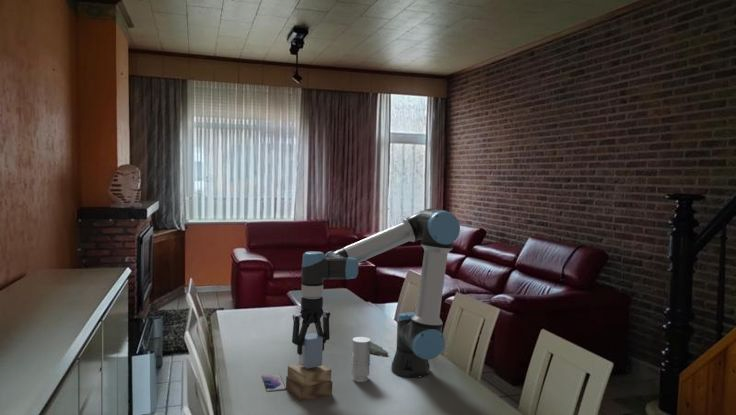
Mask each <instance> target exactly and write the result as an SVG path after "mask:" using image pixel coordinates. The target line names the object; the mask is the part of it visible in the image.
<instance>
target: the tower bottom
mask: <svg viewBox="0 0 736 415" xmlns="http://www.w3.org/2000/svg"><path fill="white" fill-rule="evenodd" d="M285 387H286V391H287V392H289V393H290V394H291V396H293V397H295V399H297V400H298V401H299V402H300V403H301V402H305V401H309V400H315V399H318V398H323V397H328V396H332V395H333V381H332V380H331V381H327V382H323V383H319V384H315V385H311V386H307V387H302V386H301V385H299V384H298V383H296V382H295V381H293V380H291V379H290V378H288V375H286V378H285Z"/></svg>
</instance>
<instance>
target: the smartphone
mask: <svg viewBox="0 0 736 415" xmlns="http://www.w3.org/2000/svg"><path fill="white" fill-rule="evenodd" d="M261 380H262V382H263V383H264V384H263V383H262V384H263V386H264V389H265V392H267V393H270V392H280V391H287V389H286V384H285V383H284V381H283V377H282V375H281V374H280V373H273V374H272V373H271V374H263V375H261Z"/></svg>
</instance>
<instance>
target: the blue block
mask: <svg viewBox="0 0 736 415" xmlns="http://www.w3.org/2000/svg"><path fill="white" fill-rule="evenodd" d="M303 345H304V346H305V360H304V365H302V364H301V363H300V364H301V365H302V366H304V367H305V368H306V369H307V368H312V367H318V366H322V365H323V351H322V350H323V337H321V336H320V335H318V334H317V332H311V333H306V336H305V339H304V342H303Z"/></svg>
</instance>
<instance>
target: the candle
mask: <svg viewBox="0 0 736 415" xmlns="http://www.w3.org/2000/svg"><path fill="white" fill-rule="evenodd" d="M352 342H353V343H352V353H351V375H353V376H352V381H353V382H354V381H355V382H358V383H363V382H364V383H365V382H367V381H368V380H369V377H368V376H369V375H370V365H371V353H369V349H370V342H371V338H369V337H367V336H355V337H353V338H352Z"/></svg>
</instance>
